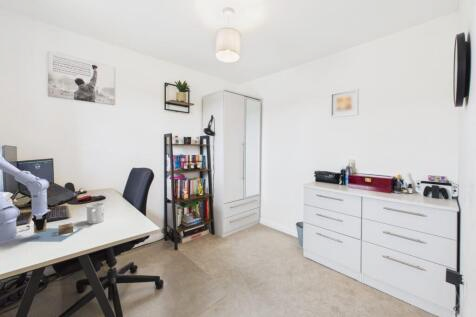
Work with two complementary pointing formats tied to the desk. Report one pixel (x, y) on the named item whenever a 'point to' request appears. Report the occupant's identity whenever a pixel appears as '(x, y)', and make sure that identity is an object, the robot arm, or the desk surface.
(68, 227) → the walnut base
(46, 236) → the mat
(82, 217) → the desk surface
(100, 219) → the mug
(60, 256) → the desk surface
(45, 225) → the maple block
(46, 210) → the robot arm
